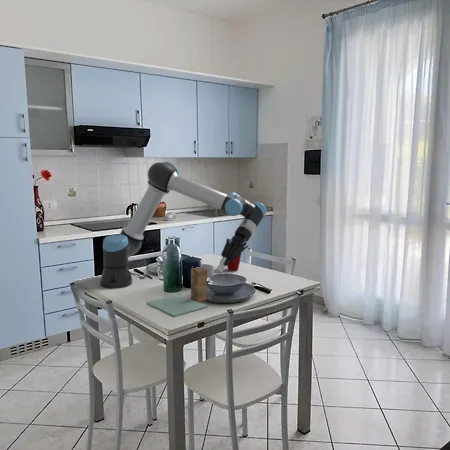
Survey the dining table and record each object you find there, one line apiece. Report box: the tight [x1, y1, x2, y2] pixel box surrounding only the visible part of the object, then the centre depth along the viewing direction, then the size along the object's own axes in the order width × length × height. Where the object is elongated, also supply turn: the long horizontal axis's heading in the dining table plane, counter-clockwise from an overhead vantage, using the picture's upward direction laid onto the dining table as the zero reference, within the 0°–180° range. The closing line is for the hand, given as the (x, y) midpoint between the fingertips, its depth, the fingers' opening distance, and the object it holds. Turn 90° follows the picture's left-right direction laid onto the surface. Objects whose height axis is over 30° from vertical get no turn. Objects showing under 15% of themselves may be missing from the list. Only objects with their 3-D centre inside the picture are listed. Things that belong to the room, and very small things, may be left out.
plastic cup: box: [226, 253, 242, 272], centre depth 236 cm, size 11×11×12 cm
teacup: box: [200, 263, 215, 278], centre depth 212 cm, size 14×11×8 cm
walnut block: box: [190, 267, 208, 303], centre depth 185 cm, size 5×5×14 cm
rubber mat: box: [146, 293, 208, 318], centre depth 177 cm, size 20×17×1 cm
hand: (219, 270), depth 191 cm, fingers closed
